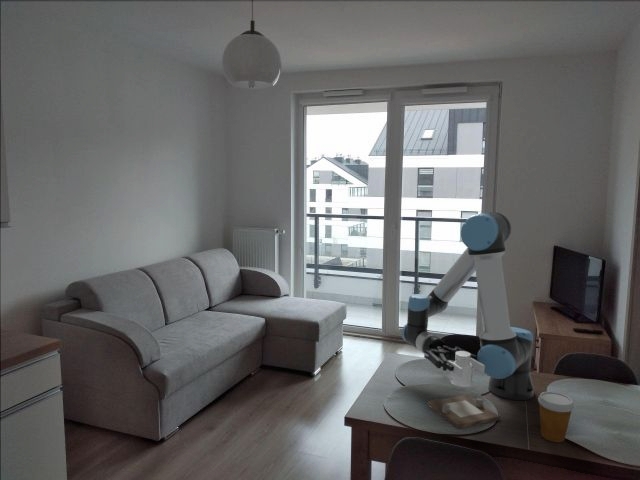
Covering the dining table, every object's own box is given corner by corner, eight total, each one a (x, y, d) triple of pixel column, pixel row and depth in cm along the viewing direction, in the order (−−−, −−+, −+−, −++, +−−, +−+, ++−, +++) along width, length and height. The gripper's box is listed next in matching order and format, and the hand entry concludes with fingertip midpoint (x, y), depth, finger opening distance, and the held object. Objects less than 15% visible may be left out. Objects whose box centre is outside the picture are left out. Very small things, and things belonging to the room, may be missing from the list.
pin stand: (467, 397, 165) (467, 389, 165) (499, 419, 150) (500, 410, 150) (427, 404, 159) (428, 395, 159) (457, 428, 145) (458, 418, 144)
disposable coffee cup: (569, 449, 135) (573, 408, 133) (532, 438, 140) (536, 399, 138) (572, 434, 143) (575, 396, 141) (537, 425, 148) (540, 388, 146)
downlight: (468, 377, 158) (469, 348, 156) (478, 387, 151) (479, 357, 150) (445, 379, 157) (446, 350, 155) (454, 389, 150) (455, 358, 148)
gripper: (454, 352, 174) (498, 378, 153) (405, 358, 167) (443, 386, 145) (456, 332, 173) (500, 356, 152) (406, 338, 166) (445, 363, 144)
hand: (472, 371), depth 149 cm, fingers closed on downlight, 8 cm apart
